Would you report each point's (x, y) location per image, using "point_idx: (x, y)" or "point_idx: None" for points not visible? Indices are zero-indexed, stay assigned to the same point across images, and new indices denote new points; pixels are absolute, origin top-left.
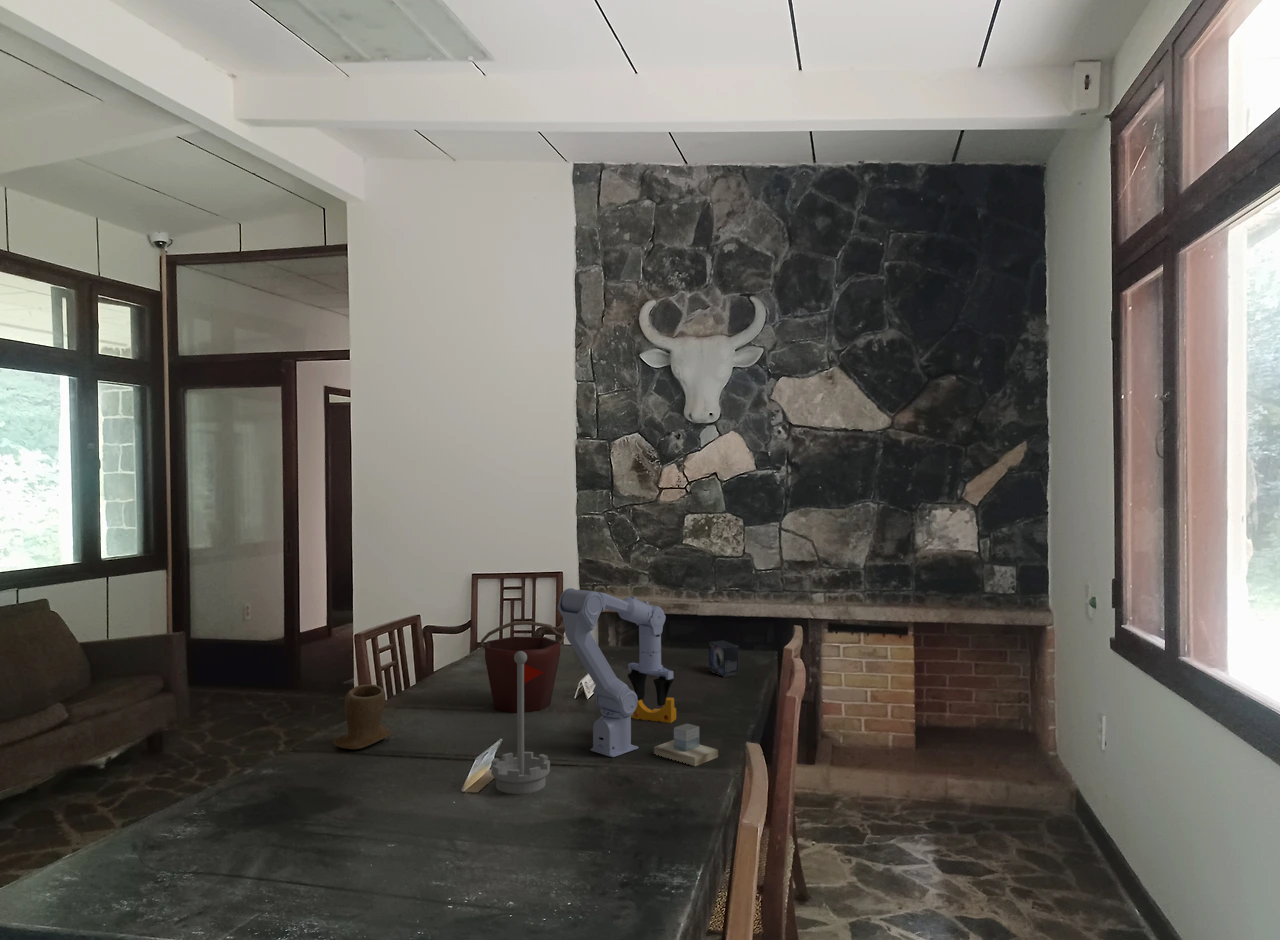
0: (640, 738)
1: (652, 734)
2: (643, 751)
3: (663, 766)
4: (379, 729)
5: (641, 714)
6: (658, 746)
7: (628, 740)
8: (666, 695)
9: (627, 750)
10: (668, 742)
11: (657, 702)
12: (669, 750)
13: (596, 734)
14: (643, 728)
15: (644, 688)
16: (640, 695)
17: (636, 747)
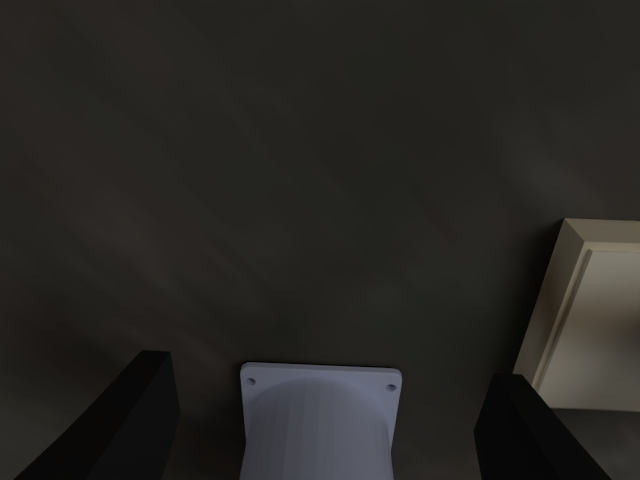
0: (286, 244)
1: (286, 137)
2: (440, 373)
3: (624, 445)
4: None
5: None
6: (547, 400)
7: (390, 459)
8: (595, 472)
9: (391, 428)
10: (570, 334)
11: (483, 470)
12: (630, 409)
13: None
14: (131, 66)
15: (107, 453)
16: (159, 437)
17: (399, 386)
